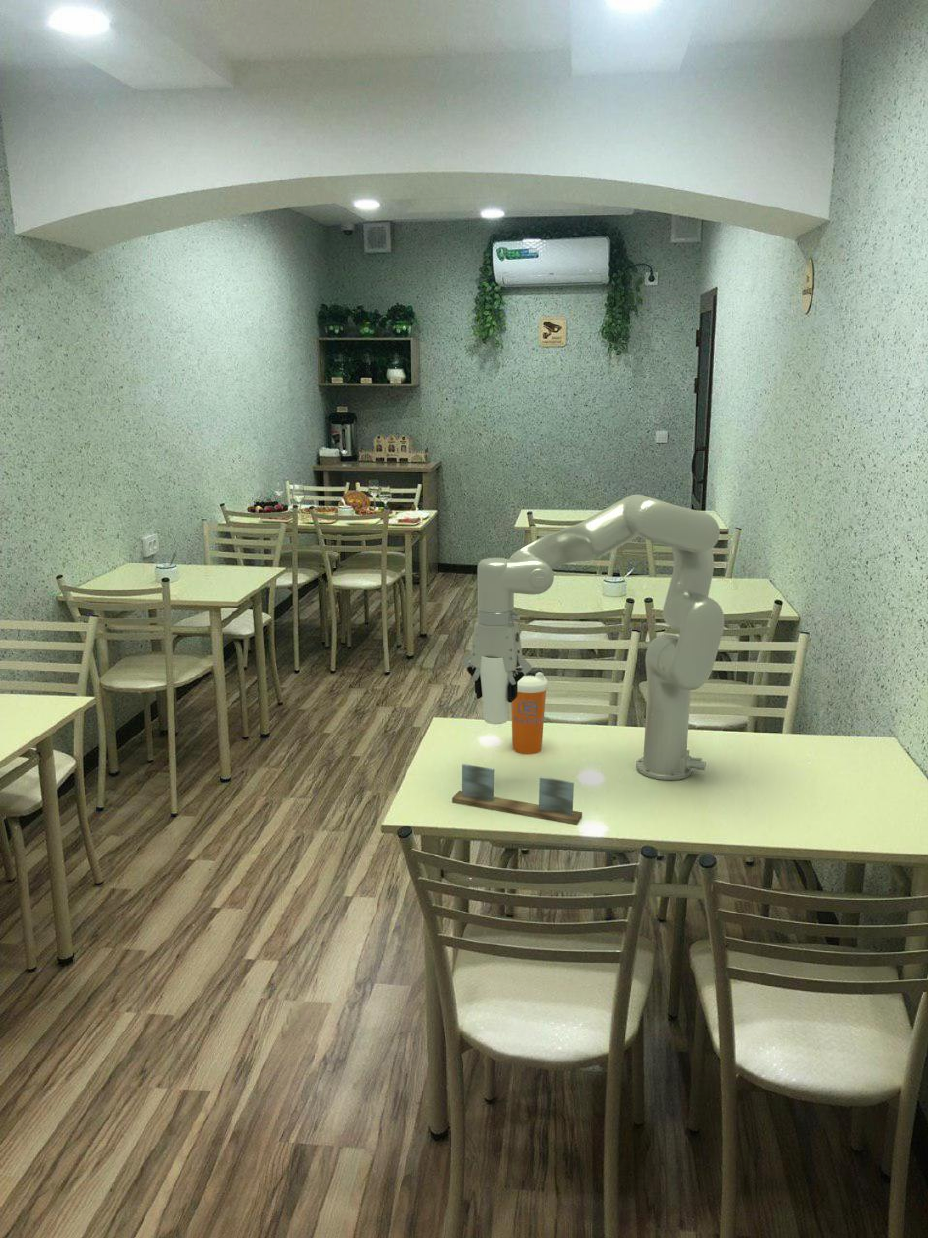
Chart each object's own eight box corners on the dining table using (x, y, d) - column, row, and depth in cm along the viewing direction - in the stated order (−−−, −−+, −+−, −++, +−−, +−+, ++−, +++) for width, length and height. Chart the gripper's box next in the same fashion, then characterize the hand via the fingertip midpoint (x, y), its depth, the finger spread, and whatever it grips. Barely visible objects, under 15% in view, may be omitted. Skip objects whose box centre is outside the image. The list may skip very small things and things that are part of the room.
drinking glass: (509, 727, 198) (509, 659, 194) (477, 725, 199) (477, 657, 196) (514, 716, 204) (514, 650, 201) (483, 714, 206) (483, 649, 202)
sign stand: (581, 816, 191) (583, 780, 189) (576, 825, 187) (578, 787, 186) (459, 795, 201) (459, 760, 199) (452, 802, 197) (452, 766, 195)
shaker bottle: (506, 742, 231) (507, 664, 226) (541, 741, 232) (543, 663, 227) (511, 756, 222) (513, 675, 217) (548, 755, 223) (551, 674, 218)
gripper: (540, 616, 197) (540, 697, 201) (464, 610, 203) (465, 689, 207) (529, 625, 190) (529, 709, 194) (450, 618, 196) (452, 699, 200)
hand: (496, 698), depth 201 cm, fingers closed on drinking glass, 6 cm apart
